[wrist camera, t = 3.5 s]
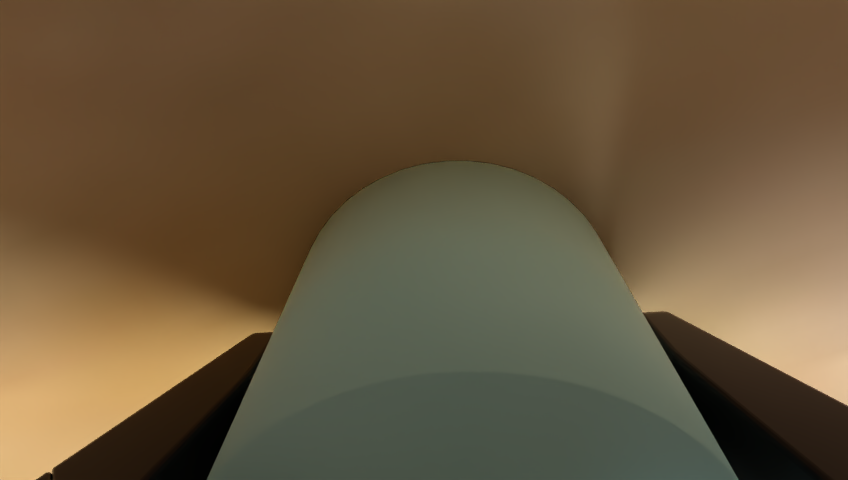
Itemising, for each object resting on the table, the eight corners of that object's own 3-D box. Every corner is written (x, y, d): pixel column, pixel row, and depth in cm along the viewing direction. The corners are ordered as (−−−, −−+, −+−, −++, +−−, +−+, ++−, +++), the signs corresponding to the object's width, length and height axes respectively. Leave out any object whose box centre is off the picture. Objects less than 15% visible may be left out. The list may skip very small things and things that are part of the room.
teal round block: (607, 427, 11) (730, 769, 6) (324, 440, 11) (241, 775, 6) (622, 149, 9) (821, 353, 4) (274, 172, 9) (105, 390, 4)
